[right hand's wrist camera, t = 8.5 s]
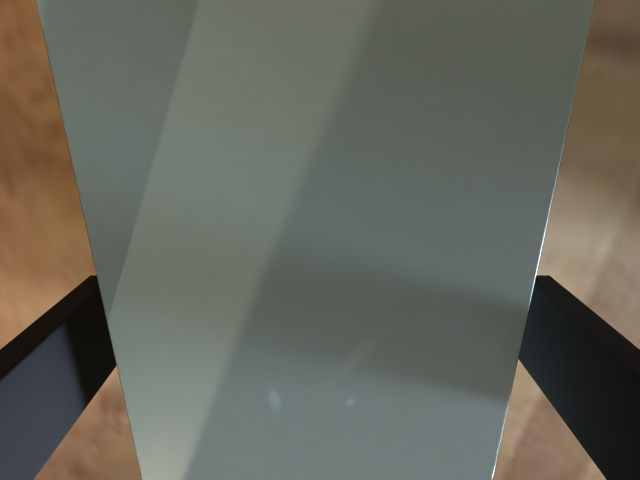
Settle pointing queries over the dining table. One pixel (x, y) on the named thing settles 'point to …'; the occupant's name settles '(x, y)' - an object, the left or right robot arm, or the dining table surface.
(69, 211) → the dining table surface
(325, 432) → the cabinet
